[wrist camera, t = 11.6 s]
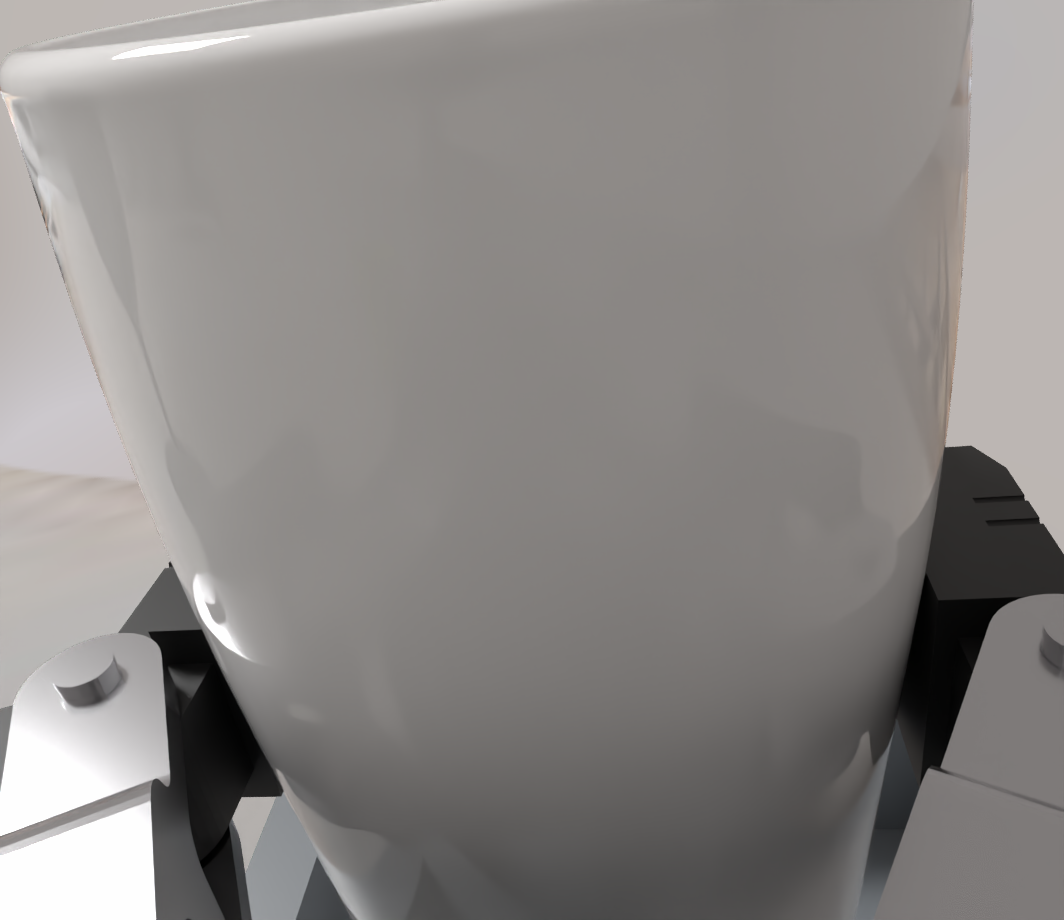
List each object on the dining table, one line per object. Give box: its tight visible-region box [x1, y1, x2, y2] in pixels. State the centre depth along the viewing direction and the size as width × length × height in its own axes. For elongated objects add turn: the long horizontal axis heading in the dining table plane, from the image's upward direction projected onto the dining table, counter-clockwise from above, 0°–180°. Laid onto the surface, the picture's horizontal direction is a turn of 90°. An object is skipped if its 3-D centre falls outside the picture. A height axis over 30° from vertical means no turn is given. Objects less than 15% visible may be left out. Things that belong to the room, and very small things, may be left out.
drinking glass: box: [0, 0, 974, 920], centre depth 10 cm, size 7×7×15 cm
